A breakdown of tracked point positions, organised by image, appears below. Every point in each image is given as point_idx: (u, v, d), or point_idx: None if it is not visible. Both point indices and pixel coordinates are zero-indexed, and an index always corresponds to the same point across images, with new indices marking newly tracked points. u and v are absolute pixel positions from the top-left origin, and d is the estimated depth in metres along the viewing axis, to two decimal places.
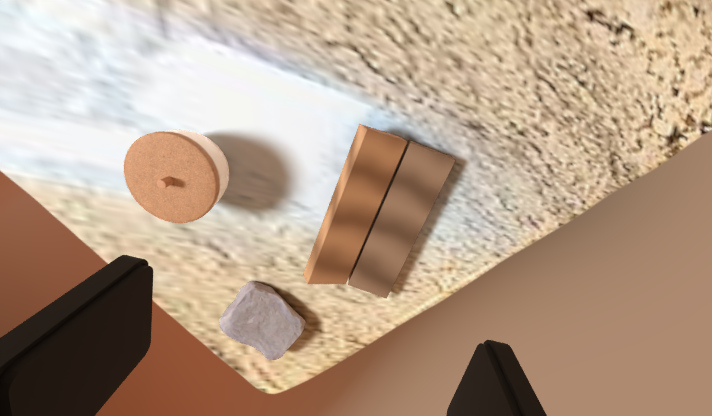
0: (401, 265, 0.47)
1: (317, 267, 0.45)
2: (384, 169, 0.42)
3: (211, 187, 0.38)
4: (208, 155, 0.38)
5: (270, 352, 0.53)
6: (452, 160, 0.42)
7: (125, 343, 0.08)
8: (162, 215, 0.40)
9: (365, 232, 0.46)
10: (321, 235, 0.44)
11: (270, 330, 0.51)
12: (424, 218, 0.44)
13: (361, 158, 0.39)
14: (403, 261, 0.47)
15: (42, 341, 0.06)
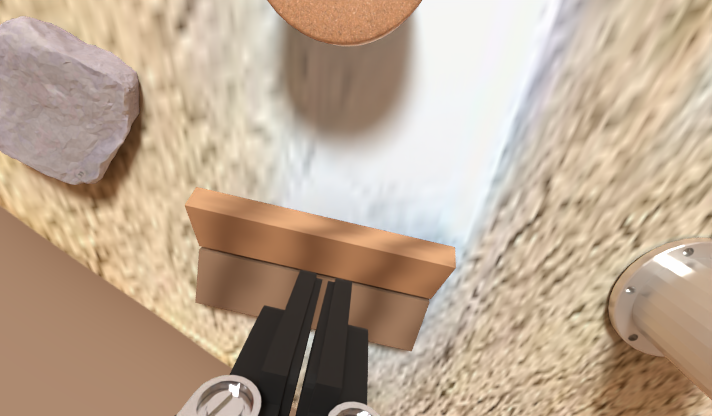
0: (254, 314, 0.33)
1: (220, 216, 0.27)
2: (391, 281, 0.30)
3: (342, 33, 0.19)
4: (402, 21, 0.20)
5: (0, 132, 0.27)
6: (411, 348, 0.34)
7: None
8: None
9: (292, 265, 0.31)
10: (277, 214, 0.27)
11: (49, 129, 0.27)
12: None
13: (411, 263, 0.27)
14: None
15: (298, 345, 0.07)
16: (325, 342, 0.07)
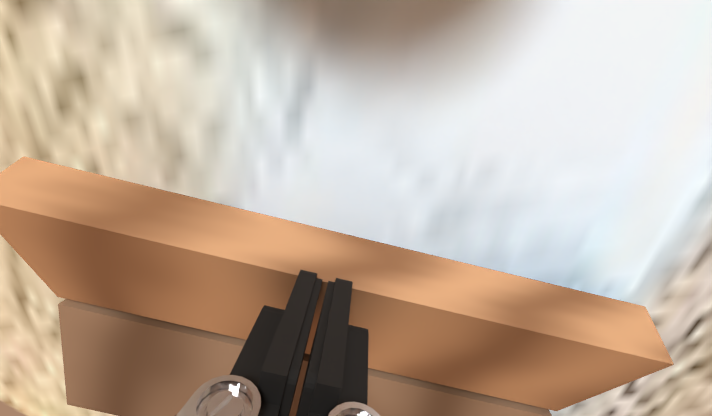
0: None
1: (69, 229, 0.10)
2: (482, 379, 0.14)
3: None
4: None
5: None
6: None
7: None
8: None
9: None
10: (220, 226, 0.11)
11: None
12: None
13: (555, 349, 0.11)
14: None
15: (298, 345, 0.07)
16: (325, 342, 0.07)
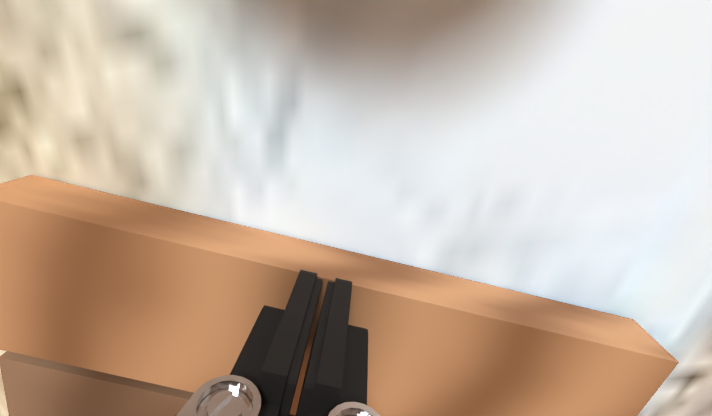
0: None
1: (64, 229, 0.10)
2: None
3: None
4: None
5: None
6: None
7: None
8: None
9: None
10: (222, 234, 0.11)
11: None
12: None
13: (563, 356, 0.11)
14: None
15: (298, 345, 0.07)
16: (325, 342, 0.07)
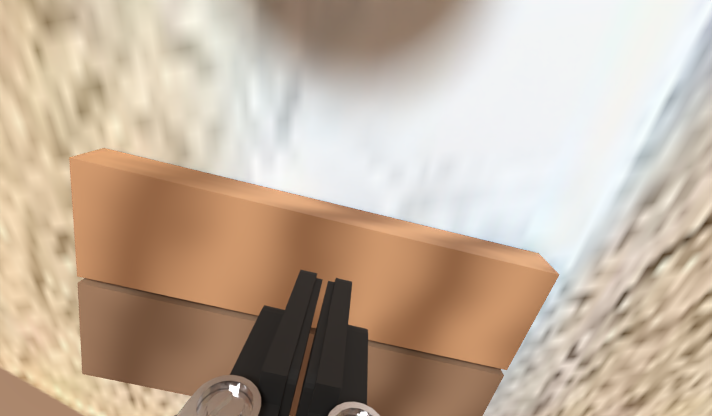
0: (189, 393, 0.19)
1: (137, 183, 0.14)
2: (441, 330, 0.17)
3: None
4: None
5: None
6: None
7: None
8: None
9: (256, 310, 0.17)
10: (245, 189, 0.16)
11: None
12: None
13: (482, 272, 0.16)
14: None
15: (298, 345, 0.07)
16: (325, 342, 0.07)
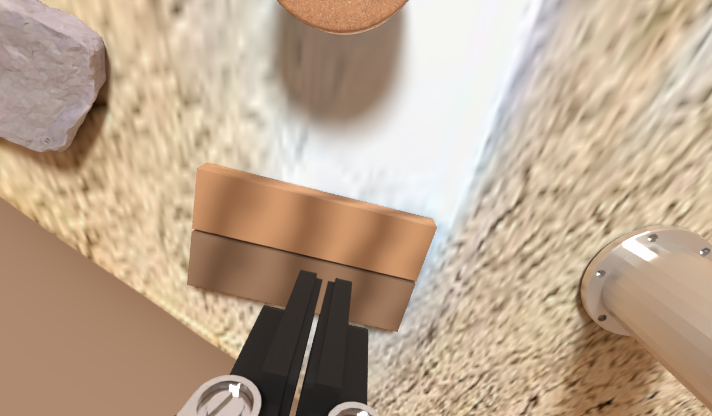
0: (245, 296, 0.34)
1: (228, 180, 0.30)
2: (380, 258, 0.32)
3: (338, 21, 0.20)
4: (395, 12, 0.21)
5: None
6: (397, 328, 0.35)
7: None
8: None
9: (284, 247, 0.32)
10: (279, 184, 0.31)
11: (12, 93, 0.27)
12: (319, 312, 0.35)
13: (398, 226, 0.31)
14: (252, 297, 0.34)
15: (298, 345, 0.07)
16: (325, 342, 0.07)
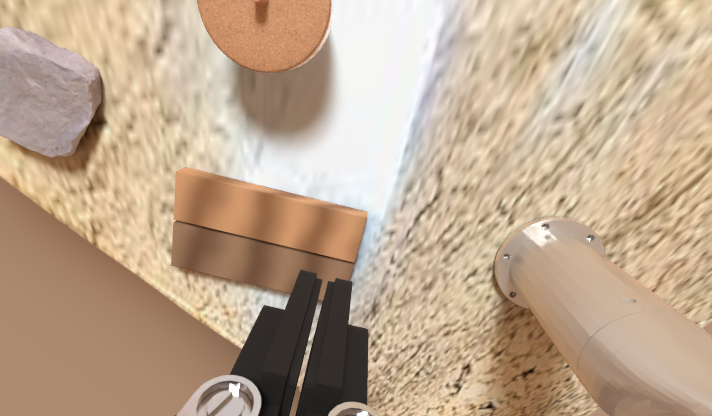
0: (217, 275, 0.42)
1: (200, 181, 0.38)
2: (323, 243, 0.40)
3: (265, 65, 0.28)
4: (308, 57, 0.29)
5: None
6: None
7: None
8: None
9: (246, 234, 0.40)
10: (242, 184, 0.39)
11: (30, 113, 0.35)
12: (278, 288, 0.43)
13: (336, 217, 0.39)
14: (223, 276, 0.42)
15: (298, 345, 0.07)
16: (325, 342, 0.07)
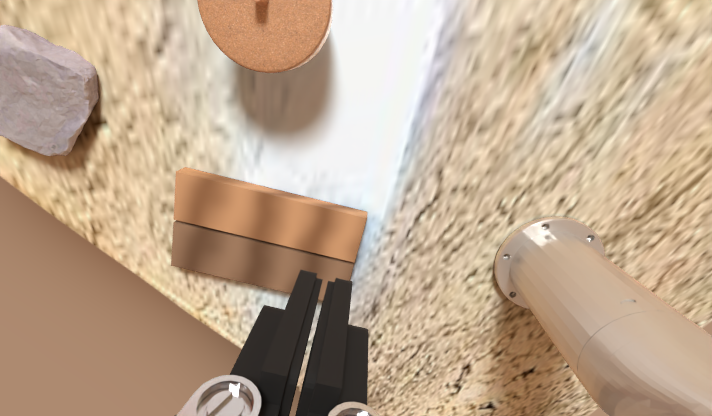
0: (217, 275, 0.42)
1: (200, 181, 0.38)
2: (323, 243, 0.40)
3: (266, 65, 0.28)
4: (308, 57, 0.29)
5: None
6: None
7: None
8: None
9: (246, 234, 0.40)
10: (242, 184, 0.39)
11: (27, 111, 0.35)
12: (278, 288, 0.43)
13: (336, 217, 0.39)
14: (223, 276, 0.42)
15: (298, 345, 0.07)
16: (325, 342, 0.07)
